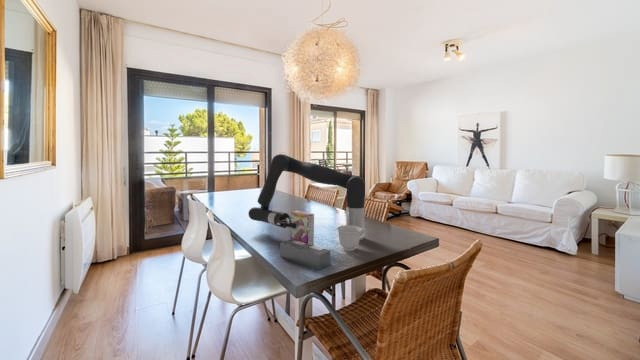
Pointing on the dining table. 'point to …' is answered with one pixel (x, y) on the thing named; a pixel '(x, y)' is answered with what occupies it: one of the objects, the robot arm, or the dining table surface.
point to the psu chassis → (305, 254)
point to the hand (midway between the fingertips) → (301, 224)
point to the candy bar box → (303, 227)
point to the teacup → (350, 236)
